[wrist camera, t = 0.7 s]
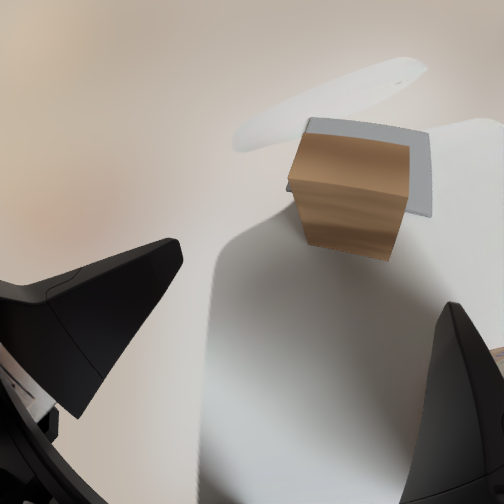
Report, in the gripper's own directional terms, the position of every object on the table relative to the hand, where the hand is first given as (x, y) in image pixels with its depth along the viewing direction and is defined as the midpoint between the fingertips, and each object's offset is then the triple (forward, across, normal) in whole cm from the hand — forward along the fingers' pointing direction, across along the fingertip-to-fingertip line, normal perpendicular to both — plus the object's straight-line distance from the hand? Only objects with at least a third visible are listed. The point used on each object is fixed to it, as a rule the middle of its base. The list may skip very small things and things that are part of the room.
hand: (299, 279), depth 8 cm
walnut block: (+15, 0, +6) cm, 16 cm away
